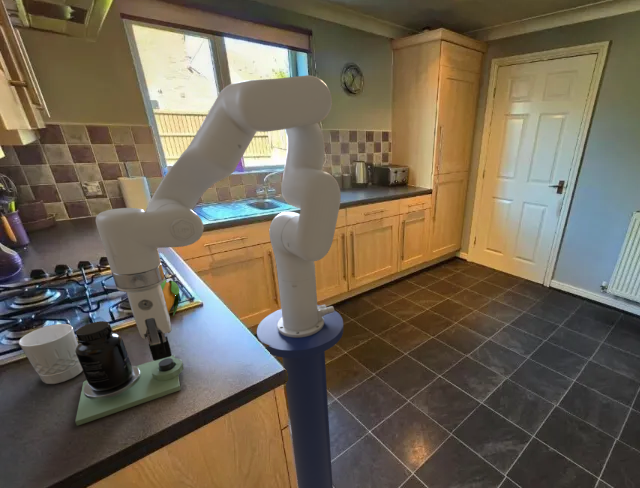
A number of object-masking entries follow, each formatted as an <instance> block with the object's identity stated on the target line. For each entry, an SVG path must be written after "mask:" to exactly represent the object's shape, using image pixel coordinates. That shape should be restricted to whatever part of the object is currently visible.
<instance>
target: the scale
mask: <svg viewBox="0 0 640 488" xmlns="http://www.w3.org/2000/svg"><path fill="white" fill-rule="evenodd" d="M167 358H171V359H173V362H174V365H175V366H174V368H173V369H171V370H169V371H166V372H162V371H160V368H159V362H160V361H162V360H163V359H167ZM167 358H163V359H160V360H156V361H154V360H151V361H147V362H145V363H141V364H139V365H134V366H135V367H137V368H138V369H139V370H140V373H141V376H140V379H139V380H138V382H137V383H136V384H135V385H134V386H132V387H131V388H130V389H128V390H126V391H125V392H123V393H121V394H118V395H116V396H113V397H110V398H106V399H100V400H93V399H89V398H87V397H86V396H85V395H84V392H83V388H84V386H85V384H86V383H87V382H88V381H87V380H84V381H83V383H82V387H81V392H80V396H79V402H78V407H77V412H76V417H75V420H74V421H75V424H76V426H81V425H84V424H87V423H90V422H92V421H96V420H98V419H102V418H105V417H107V416H110V415H113V414H116V413H118V412H121V411H124V410H127V409H130V408H133V407H135V406H138V405H142V404H144V403H147V402H150V401H153V400H156V399H159V398H162V397H164V396H168V395H170V394H173V393H176V392H178V391H181V390H182V389H181V382H180V378H179V375H180V374H181V373H182V372H183V371H184V363H183V360H182V359H180V358H177V357H176V355H175V354H172V355H171V356H170V357H167Z"/></svg>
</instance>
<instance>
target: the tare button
mask: <svg viewBox="0 0 640 488" xmlns="http://www.w3.org/2000/svg"><path fill="white" fill-rule="evenodd" d="M174 366H175V365H174V362H173V359H171V358H167V359H163V360H162V361H160V362H159V368H160V371H162V372H166V371H169V370H171V369H173V368H174Z"/></svg>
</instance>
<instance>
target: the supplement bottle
mask: <svg viewBox="0 0 640 488" xmlns="http://www.w3.org/2000/svg"><path fill="white" fill-rule="evenodd" d="M75 336H76V339H77V342H78V345H77V347H76V350H75V352H76V355H77V358H78V360H79V362H80V365H81V367H82V369H83V371H82V372H83V374H84V377H85V379H86V381H88V384H89V386H90V387H91V388H92V389H93V390H96V391H105V390H110V389H113V388H116V387H118V386H120V385H122V384H124V383H125V382H126V381H128V380H129V379H130V378H131V376H132V374H133V368H132V366H133V364H132V363H131V360H130V357H129V354H128V351H127V348H126V345H125V342H124V339H123V337H122V336H121V335H120V334H119V333H117V332H114V330H113V328H112V326H111V323H110V322H109V321H105V320H100V321H94V322H90V323H87V324H85V325H83V326H81V327H79V328H78V329H76V331H75Z"/></svg>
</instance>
